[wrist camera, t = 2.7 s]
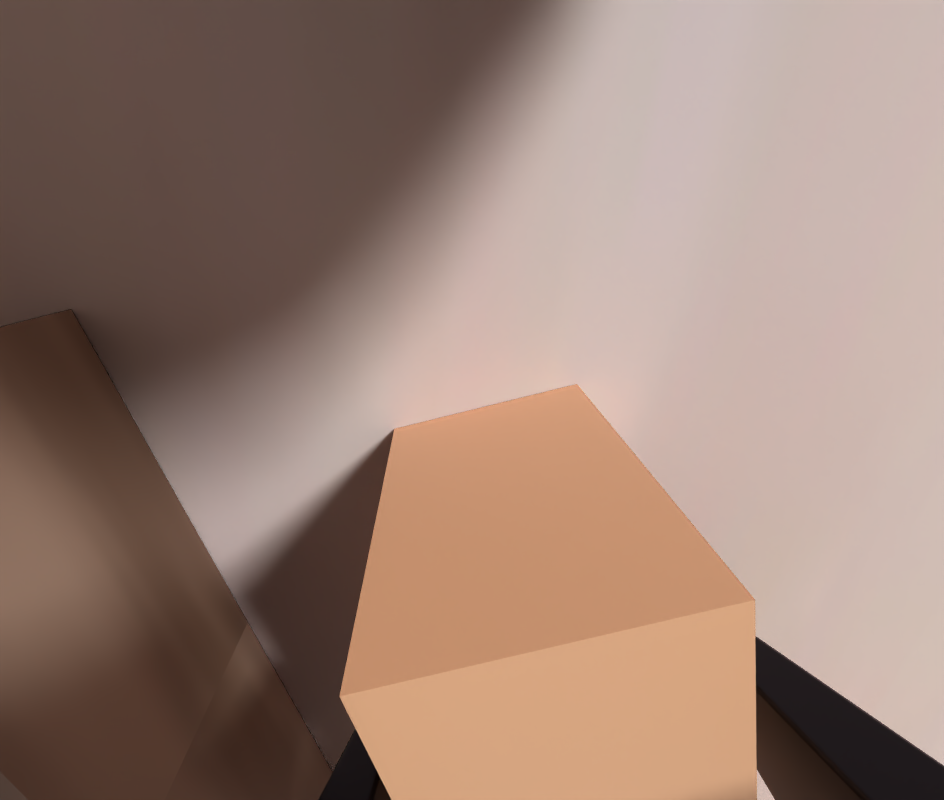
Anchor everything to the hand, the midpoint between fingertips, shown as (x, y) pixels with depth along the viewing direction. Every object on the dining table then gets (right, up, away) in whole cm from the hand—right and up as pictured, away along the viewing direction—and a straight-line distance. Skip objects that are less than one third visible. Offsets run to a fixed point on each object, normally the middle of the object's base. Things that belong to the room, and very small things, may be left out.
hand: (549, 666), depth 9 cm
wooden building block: (0, +1, +3) cm, 3 cm away
